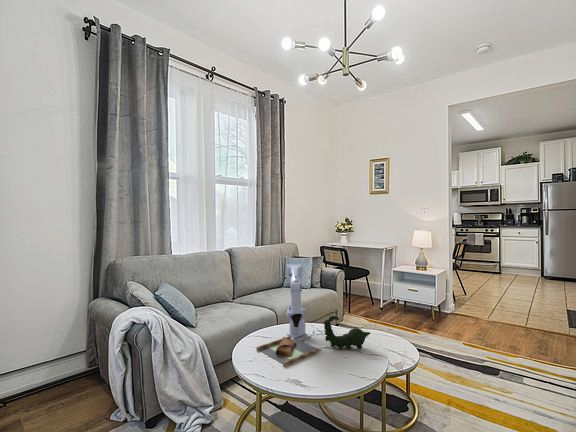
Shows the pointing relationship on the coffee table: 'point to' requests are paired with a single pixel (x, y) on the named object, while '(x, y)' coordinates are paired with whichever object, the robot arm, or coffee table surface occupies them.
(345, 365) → the coffee table surface
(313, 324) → the coffee table surface
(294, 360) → the lane rails
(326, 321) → the toy figurine
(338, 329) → the coffee table surface
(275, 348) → the zone mats
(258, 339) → the coffee table surface
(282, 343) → the sunglasses case
